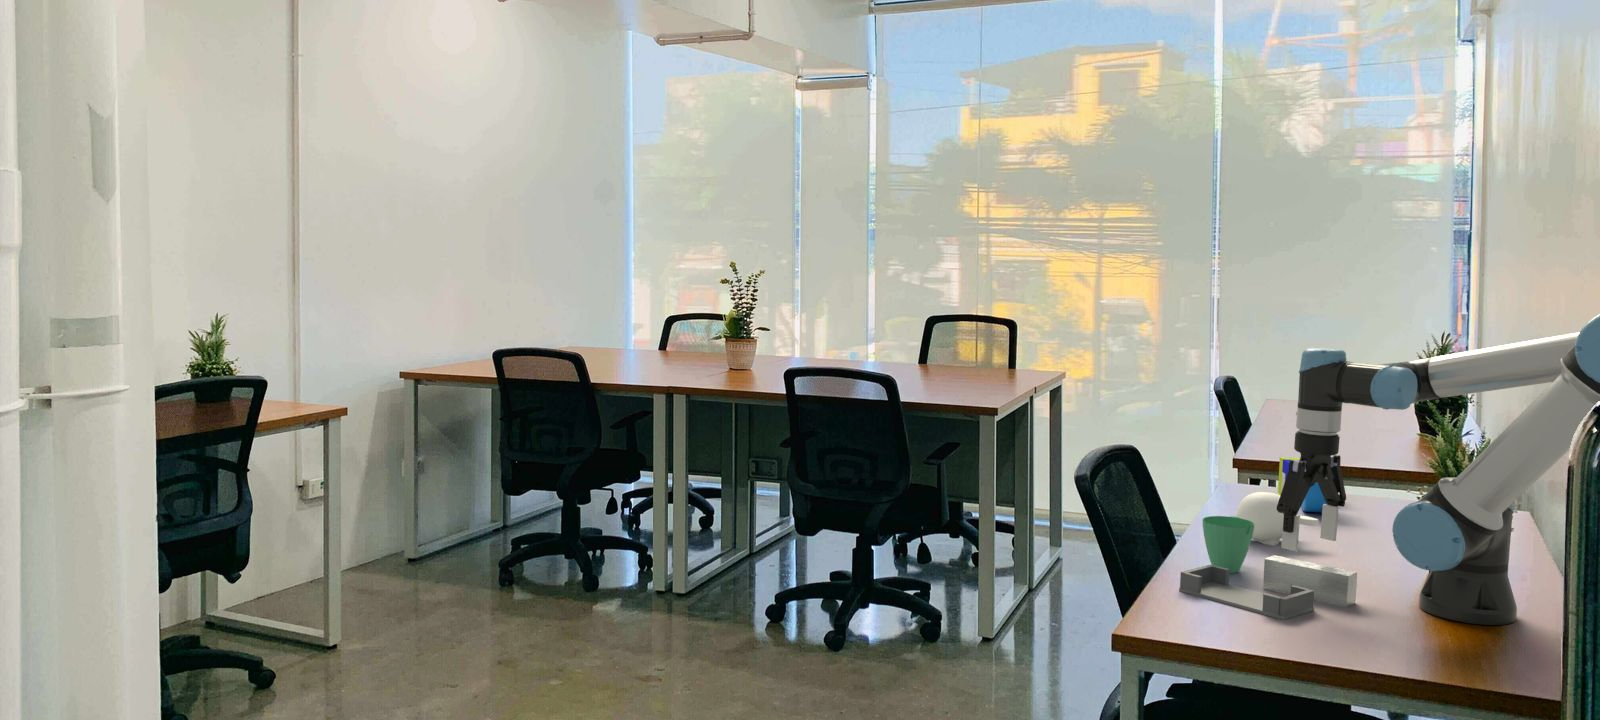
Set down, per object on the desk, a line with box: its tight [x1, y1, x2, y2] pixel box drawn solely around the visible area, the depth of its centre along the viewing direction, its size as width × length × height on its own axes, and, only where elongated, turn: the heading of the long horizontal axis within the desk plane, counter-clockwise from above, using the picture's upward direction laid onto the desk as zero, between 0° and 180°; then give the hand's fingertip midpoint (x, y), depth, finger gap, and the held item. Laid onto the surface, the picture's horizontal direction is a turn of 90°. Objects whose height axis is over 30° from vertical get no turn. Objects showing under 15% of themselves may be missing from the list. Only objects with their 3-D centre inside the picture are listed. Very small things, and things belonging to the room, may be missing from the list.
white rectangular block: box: [1262, 555, 1358, 608], centre depth 216 cm, size 16×4×6 cm, turn 43°
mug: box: [1202, 515, 1254, 574], centre depth 235 cm, size 15×10×10 cm
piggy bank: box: [1236, 491, 1319, 546], centre depth 257 cm, size 12×12×15 cm
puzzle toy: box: [1277, 456, 1300, 495], centre depth 306 cm, size 10×10×10 cm
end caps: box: [1178, 564, 1315, 621], centre depth 212 cm, size 21×10×4 cm, turn 37°
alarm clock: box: [1300, 482, 1328, 514], centre depth 289 cm, size 13×6×15 cm, turn 162°
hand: (1309, 544), depth 216 cm, fingers open, 13 cm apart
